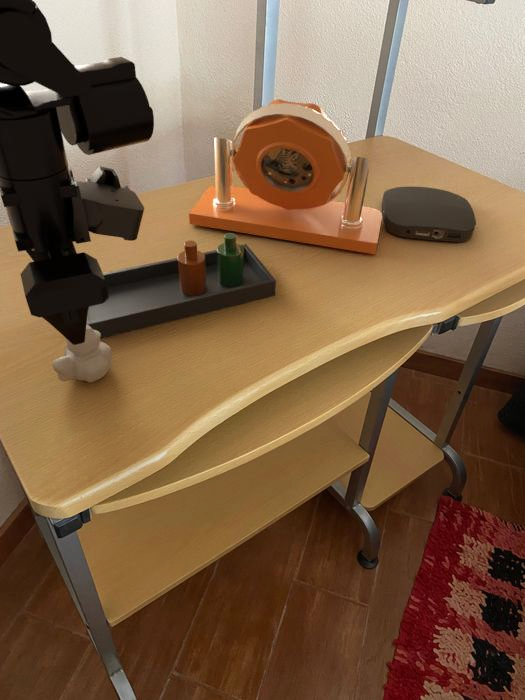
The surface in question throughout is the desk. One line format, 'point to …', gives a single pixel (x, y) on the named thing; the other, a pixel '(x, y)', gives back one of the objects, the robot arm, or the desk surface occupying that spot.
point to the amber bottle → (192, 270)
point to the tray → (172, 294)
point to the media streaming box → (427, 214)
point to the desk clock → (290, 181)
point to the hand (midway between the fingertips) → (70, 315)
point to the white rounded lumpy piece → (84, 359)
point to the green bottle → (230, 261)
